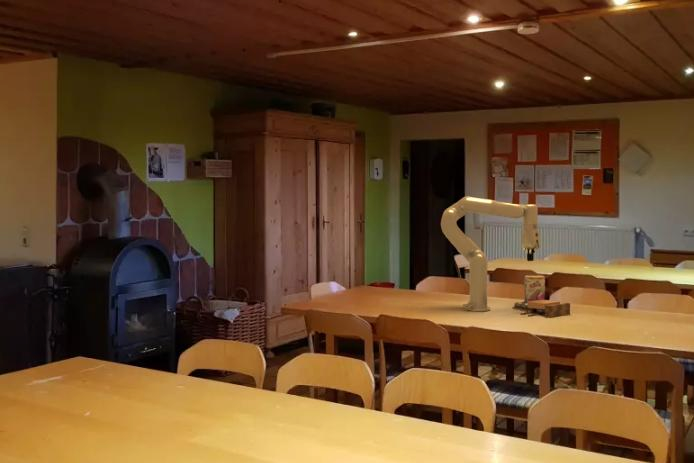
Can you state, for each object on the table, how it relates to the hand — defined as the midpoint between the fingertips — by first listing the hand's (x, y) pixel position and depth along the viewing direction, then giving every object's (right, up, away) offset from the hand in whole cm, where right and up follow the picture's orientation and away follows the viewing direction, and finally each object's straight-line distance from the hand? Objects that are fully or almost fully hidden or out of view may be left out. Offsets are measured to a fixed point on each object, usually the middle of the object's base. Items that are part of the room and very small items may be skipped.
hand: (530, 260), depth 389 cm
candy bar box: (+7, -26, +18) cm, 33 cm away
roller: (+5, -28, -7) cm, 29 cm away
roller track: (+2, -27, -1) cm, 27 cm away
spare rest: (-4, -28, -12) cm, 31 cm away
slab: (+5, -24, -8) cm, 26 cm away
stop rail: (+10, -28, -15) cm, 34 cm away
